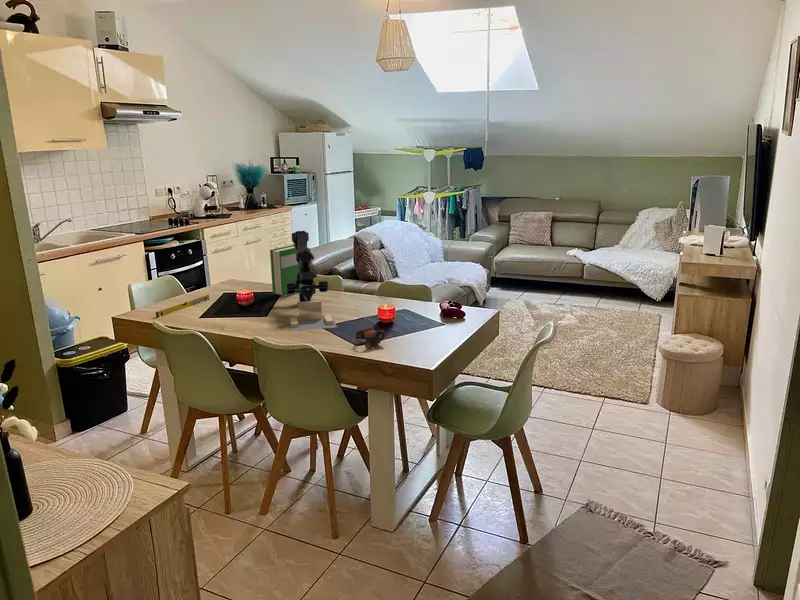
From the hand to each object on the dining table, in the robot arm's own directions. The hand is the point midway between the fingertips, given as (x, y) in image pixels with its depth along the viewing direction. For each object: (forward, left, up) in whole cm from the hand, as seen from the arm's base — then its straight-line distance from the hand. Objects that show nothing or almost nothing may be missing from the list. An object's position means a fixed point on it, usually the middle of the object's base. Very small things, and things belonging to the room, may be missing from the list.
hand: (309, 303), depth 274 cm
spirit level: (-5, -66, -8) cm, 67 cm away
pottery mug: (+30, +37, -7) cm, 48 cm away
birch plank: (+5, +2, -6) cm, 8 cm away
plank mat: (+10, +4, -7) cm, 13 cm away
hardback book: (-44, -27, -7) cm, 52 cm away
